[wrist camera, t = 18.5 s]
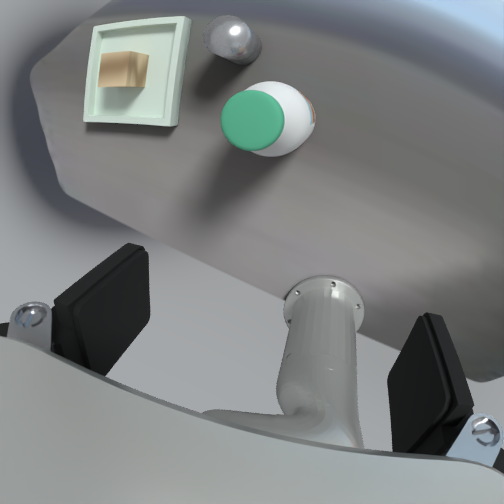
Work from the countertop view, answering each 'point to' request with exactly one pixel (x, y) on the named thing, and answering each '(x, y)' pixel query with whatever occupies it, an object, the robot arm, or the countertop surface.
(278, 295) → the countertop surface
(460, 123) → the countertop surface
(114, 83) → the oak block
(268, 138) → the milk bottle
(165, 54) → the sage tray
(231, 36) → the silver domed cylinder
